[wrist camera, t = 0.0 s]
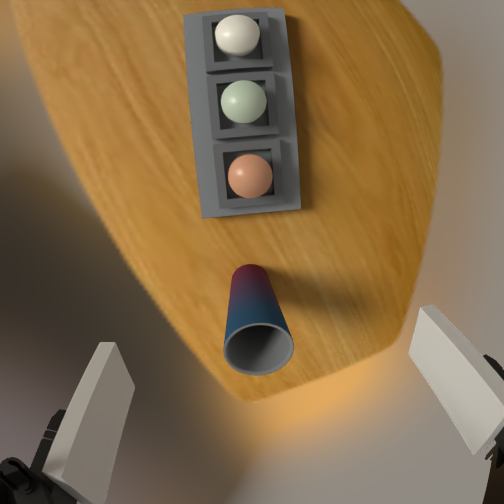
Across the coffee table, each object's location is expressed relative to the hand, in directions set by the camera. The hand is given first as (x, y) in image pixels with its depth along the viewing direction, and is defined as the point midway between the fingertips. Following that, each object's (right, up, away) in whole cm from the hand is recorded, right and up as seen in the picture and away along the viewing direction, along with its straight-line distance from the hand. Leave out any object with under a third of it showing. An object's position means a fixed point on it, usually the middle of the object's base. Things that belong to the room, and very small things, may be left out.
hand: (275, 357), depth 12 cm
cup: (-1, 0, +30) cm, 30 cm away
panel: (-2, +22, +21) cm, 30 cm away
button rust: (-1, +13, +21) cm, 25 cm away
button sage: (-2, +20, +18) cm, 27 cm away
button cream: (-3, +28, +15) cm, 32 cm away
